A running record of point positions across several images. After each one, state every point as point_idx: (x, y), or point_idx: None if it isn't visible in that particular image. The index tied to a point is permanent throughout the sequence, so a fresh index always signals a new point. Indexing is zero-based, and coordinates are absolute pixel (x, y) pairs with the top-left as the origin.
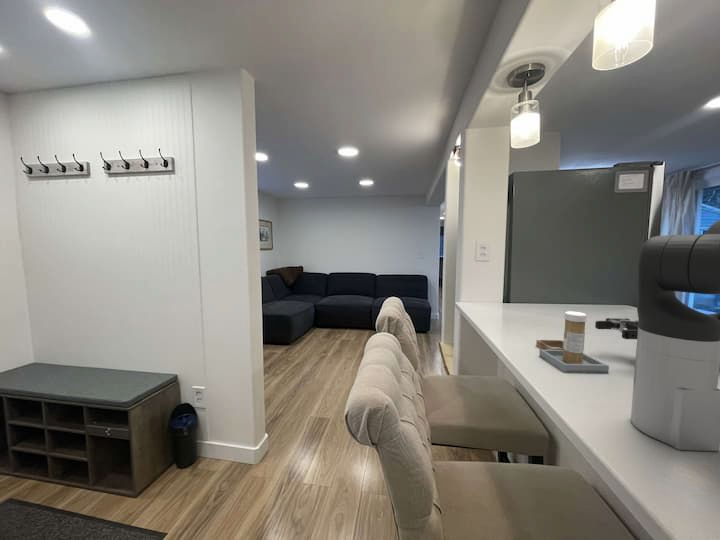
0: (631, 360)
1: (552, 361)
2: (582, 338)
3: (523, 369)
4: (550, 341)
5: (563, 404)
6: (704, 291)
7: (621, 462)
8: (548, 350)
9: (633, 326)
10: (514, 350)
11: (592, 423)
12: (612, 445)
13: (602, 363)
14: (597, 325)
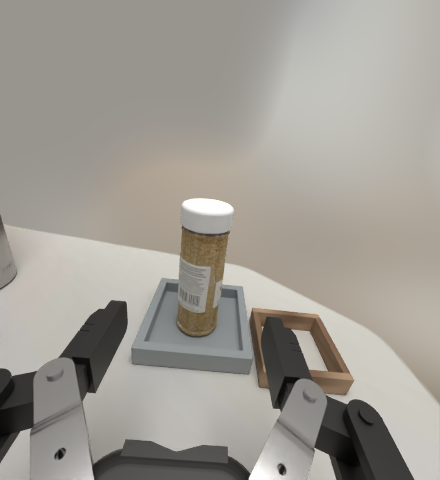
0: None
1: None
2: (180, 267)
3: None
4: (327, 343)
5: (88, 246)
6: None
7: None
8: (238, 295)
9: (181, 454)
10: (266, 281)
11: (47, 245)
12: (18, 238)
13: (147, 344)
14: (263, 328)
